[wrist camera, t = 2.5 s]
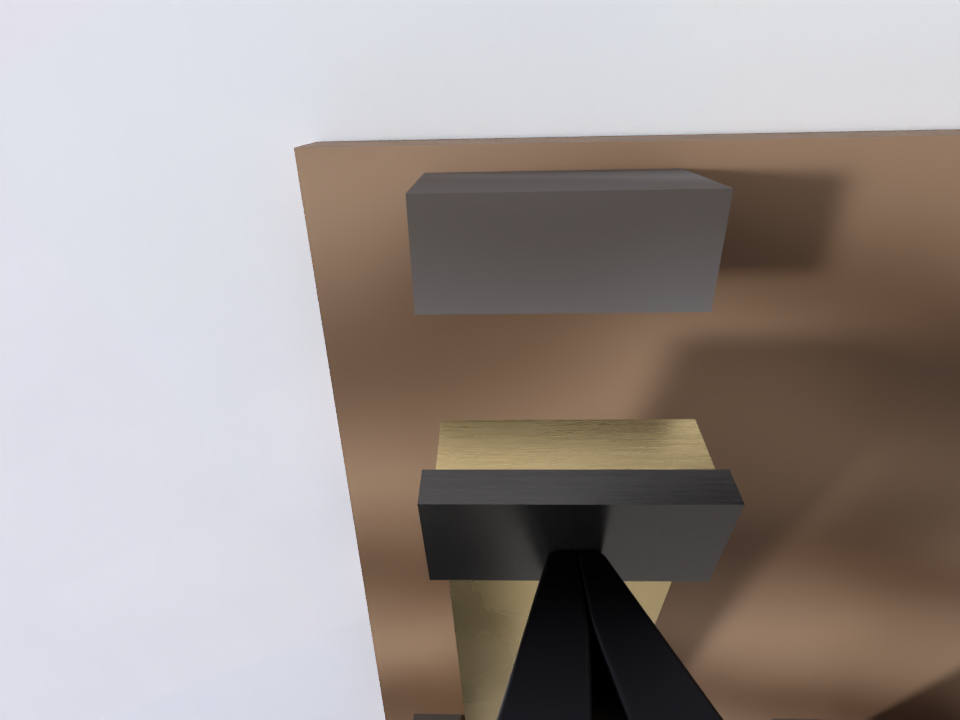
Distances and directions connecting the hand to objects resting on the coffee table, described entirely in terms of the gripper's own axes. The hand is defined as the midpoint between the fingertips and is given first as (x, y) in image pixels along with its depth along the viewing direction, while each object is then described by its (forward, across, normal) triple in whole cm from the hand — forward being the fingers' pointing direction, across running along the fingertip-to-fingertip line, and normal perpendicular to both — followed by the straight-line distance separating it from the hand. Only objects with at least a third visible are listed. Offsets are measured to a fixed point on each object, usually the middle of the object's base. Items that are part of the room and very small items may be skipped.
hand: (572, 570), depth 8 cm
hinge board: (+6, -6, +6) cm, 10 cm away
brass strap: (+3, 0, +6) cm, 7 cm away
